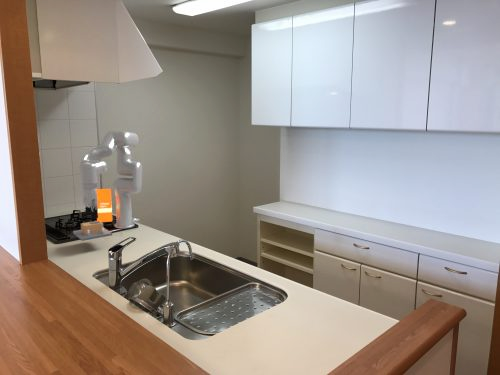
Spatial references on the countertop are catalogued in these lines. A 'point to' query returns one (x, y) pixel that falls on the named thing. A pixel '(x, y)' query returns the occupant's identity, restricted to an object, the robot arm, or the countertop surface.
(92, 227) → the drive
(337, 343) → the countertop surface
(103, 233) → the pin tray
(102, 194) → the orange juice
